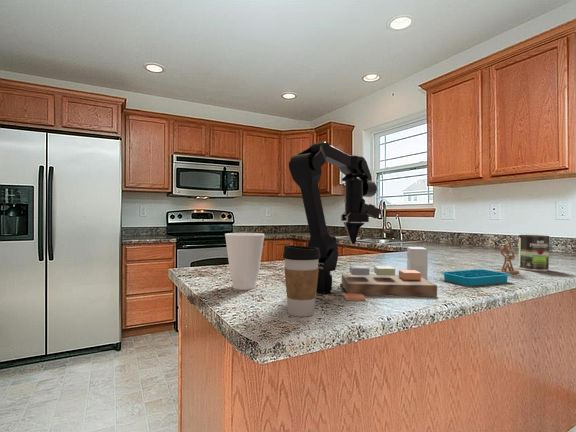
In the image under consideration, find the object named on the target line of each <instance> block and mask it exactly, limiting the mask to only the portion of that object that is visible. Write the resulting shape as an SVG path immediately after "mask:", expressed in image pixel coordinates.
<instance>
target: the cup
mask: <svg viewBox="0 0 576 432" xmlns="http://www.w3.org/2000/svg"><path fill="white" fill-rule="evenodd" d="M224 237H225V243H226V252H227V259H228V266H229V274H230V280H231V281H232V283H231V284H232V288H233V289H234V290H243V291H244V290H247V291H248V290H252V289H253V290H254V289H255V288H256V287H257V280H258V279H259V273H260V267H261V260H262V254H263V246H264V240H265V233H260V232H230V233H229V232H228V233H224Z"/></svg>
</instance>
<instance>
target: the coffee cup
mask: <svg viewBox="0 0 576 432" xmlns="http://www.w3.org/2000/svg"><path fill="white" fill-rule="evenodd" d="M283 247H284V248H283V254H282V258H283V259H284V269H283V270H284V278H285V291H286V292H285V293H286V300H287V301H286V302H287V313H288V315H290V316H293V317H300V318H302V317H310V316H311V317H312V316H313V315H314V314H315V309H316V299H317V293H316V291H317V281H318V272H319V268H318V261H319V259H320V256H321V255H320V251H319V248H317V247H307V245H306V246H302V245H291V244H290V245H289V244H288V245H287V244H286V245H283Z"/></svg>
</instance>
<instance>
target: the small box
mask: <svg viewBox="0 0 576 432" xmlns="http://www.w3.org/2000/svg"><path fill="white" fill-rule="evenodd" d="M406 250H407V251H406V253H407V254H406V265H407V266H406V267H407V268H406V270H416V271H418V272H420V273H421V277H422V278H424V279H426V280H428V248H425V247H423V246H407V248H406Z"/></svg>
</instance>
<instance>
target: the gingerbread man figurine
mask: <svg viewBox="0 0 576 432" xmlns="http://www.w3.org/2000/svg"><path fill="white" fill-rule="evenodd" d="M504 252H505V254H506V255H505V254H504ZM500 253H501V255H502V256H503V257H504V262H503V265H502V267H501V270H496V272H502V273H507V274H511V276H512V275H519V274H520V271H519V270H514V267H513V266H514V265H513V263H512V260H513V261H514V260H515V258H516V257H515V256H516V255H515V253H514V251H512V243H511V242H509V241H506V242H505V243H504V245H503V247H501V248H500ZM510 254H511V255H510Z"/></svg>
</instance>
